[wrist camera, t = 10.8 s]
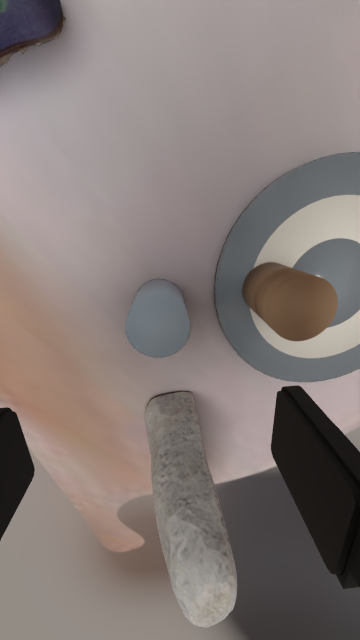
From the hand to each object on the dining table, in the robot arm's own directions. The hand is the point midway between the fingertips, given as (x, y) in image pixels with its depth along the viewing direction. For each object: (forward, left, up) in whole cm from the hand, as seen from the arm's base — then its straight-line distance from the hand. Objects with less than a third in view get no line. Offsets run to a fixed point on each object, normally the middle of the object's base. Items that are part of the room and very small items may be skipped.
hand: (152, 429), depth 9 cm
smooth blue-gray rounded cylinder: (0, 0, -15) cm, 14 cm away
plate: (-1, +15, -14) cm, 21 cm away
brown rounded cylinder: (-2, +10, -13) cm, 16 cm away
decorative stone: (+15, +1, -15) cm, 21 cm away
